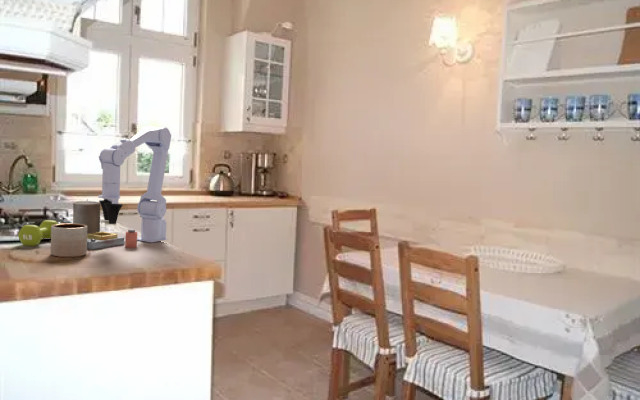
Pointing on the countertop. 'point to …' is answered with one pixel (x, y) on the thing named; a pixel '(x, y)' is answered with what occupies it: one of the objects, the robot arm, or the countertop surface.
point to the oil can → (131, 239)
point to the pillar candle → (87, 215)
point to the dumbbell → (35, 233)
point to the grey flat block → (103, 240)
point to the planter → (68, 240)
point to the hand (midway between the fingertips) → (110, 221)
